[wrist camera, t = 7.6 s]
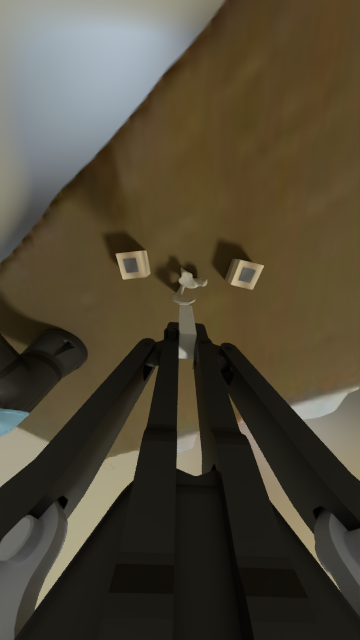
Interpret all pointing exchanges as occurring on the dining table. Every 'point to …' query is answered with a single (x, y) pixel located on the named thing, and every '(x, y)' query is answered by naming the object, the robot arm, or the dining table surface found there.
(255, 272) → the marked cube 1
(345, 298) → the dining table surface
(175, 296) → the white irregular piece
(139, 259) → the marked cube 2
